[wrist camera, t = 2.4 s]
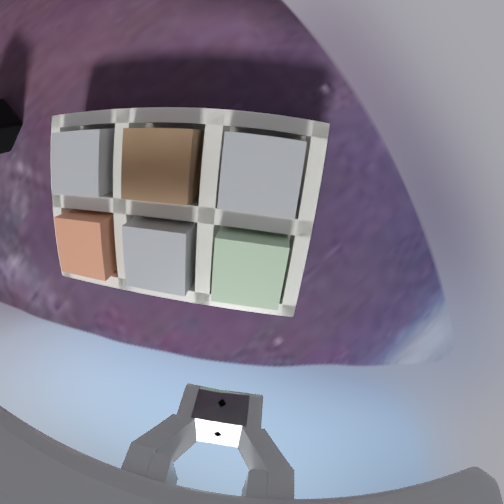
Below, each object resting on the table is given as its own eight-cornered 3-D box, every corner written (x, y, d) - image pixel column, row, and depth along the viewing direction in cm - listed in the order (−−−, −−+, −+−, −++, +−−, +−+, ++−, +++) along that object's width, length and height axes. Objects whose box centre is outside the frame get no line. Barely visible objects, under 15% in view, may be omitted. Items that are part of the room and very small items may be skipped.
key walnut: (141, 127, 19) (123, 128, 16) (204, 129, 19) (193, 129, 16) (138, 190, 21) (121, 199, 18) (198, 195, 21) (187, 205, 18)
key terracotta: (74, 207, 22) (54, 217, 19) (118, 211, 22) (99, 222, 19) (79, 257, 24) (61, 271, 21) (121, 265, 24) (105, 281, 21)
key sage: (222, 224, 22) (214, 237, 19) (287, 233, 22) (289, 248, 19) (217, 281, 24) (210, 300, 21) (277, 289, 24) (277, 310, 21)
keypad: (84, 115, 22) (40, 116, 16) (318, 125, 22) (334, 122, 16) (87, 254, 28) (53, 282, 22) (290, 286, 28) (293, 328, 22)
